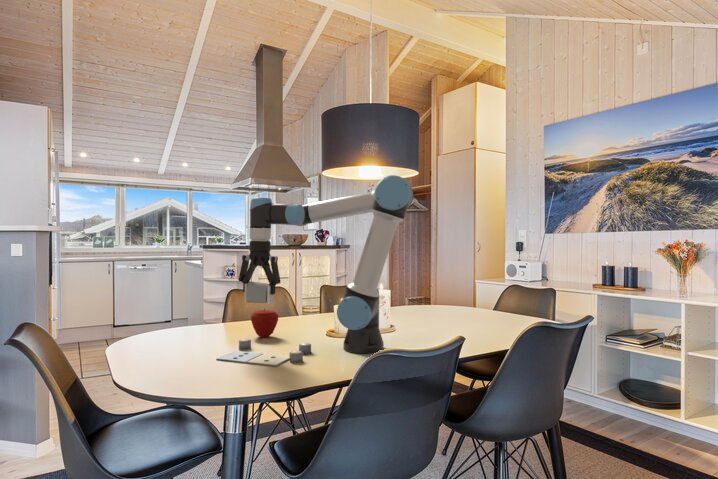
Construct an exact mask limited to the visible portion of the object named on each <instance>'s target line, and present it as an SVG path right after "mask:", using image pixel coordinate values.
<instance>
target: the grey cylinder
mask: <svg viewBox="0 0 718 479" xmlns="http://www.w3.org/2000/svg"><path fill="white" fill-rule="evenodd" d="M268 286H269V282H268V283H267V282H259V281H250V282H249V283H248V286H247V290H246V299H247V303H248V304H249V303H253V304H267V294H268Z"/></svg>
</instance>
